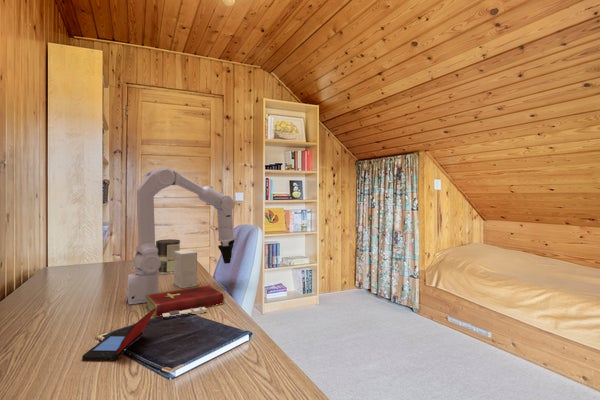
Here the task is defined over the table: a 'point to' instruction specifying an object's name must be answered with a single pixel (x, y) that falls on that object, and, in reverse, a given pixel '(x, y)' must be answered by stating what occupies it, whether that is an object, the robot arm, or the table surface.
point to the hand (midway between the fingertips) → (227, 260)
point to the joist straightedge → (185, 312)
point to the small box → (185, 268)
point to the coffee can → (167, 254)
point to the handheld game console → (117, 342)
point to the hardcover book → (184, 299)
